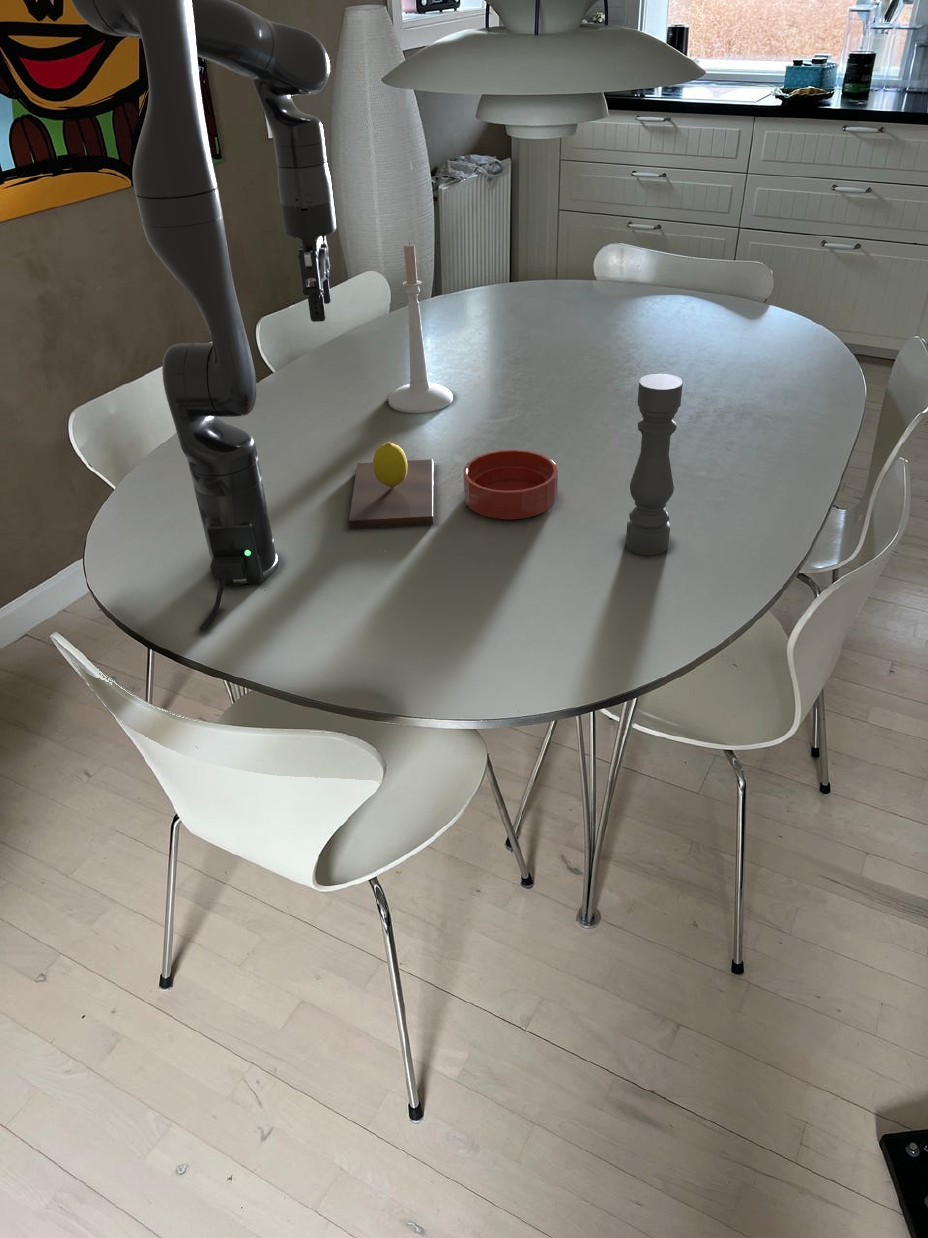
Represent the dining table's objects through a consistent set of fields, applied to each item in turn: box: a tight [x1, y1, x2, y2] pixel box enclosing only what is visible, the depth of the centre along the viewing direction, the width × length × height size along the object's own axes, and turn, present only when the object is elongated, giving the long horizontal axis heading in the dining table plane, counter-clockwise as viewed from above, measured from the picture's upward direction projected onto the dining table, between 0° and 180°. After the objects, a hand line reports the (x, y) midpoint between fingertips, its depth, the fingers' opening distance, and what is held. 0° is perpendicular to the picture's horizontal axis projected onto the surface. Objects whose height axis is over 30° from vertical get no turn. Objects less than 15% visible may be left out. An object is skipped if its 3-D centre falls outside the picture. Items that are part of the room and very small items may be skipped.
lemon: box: [372, 441, 408, 488], centre depth 149 cm, size 6×6×8 cm
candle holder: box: [625, 373, 684, 556], centre depth 129 cm, size 6×6×25 cm
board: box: [348, 458, 434, 530], centre depth 152 cm, size 20×13×2 cm, turn 2°
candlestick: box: [387, 242, 454, 414], centre depth 176 cm, size 13×13×30 cm
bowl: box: [462, 449, 559, 520], centre depth 148 cm, size 15×15×5 cm
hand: (321, 311), depth 142 cm, fingers open, 8 cm apart
